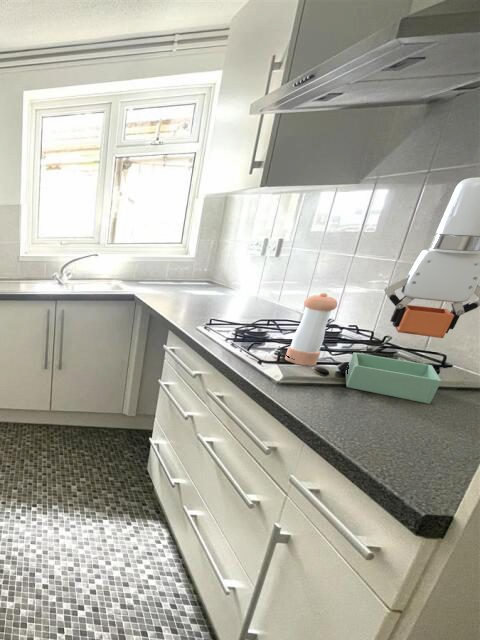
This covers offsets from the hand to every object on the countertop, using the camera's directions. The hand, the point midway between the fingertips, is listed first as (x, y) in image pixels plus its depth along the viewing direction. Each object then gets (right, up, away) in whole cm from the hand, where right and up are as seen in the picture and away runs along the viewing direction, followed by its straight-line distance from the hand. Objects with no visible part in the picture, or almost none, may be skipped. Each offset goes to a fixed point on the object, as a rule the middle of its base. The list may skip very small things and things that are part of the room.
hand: (419, 328), depth 92 cm
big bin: (+2, -13, +9) cm, 16 cm away
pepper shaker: (-6, -6, +26) cm, 27 cm away
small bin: (0, -1, 0) cm, 1 cm away
